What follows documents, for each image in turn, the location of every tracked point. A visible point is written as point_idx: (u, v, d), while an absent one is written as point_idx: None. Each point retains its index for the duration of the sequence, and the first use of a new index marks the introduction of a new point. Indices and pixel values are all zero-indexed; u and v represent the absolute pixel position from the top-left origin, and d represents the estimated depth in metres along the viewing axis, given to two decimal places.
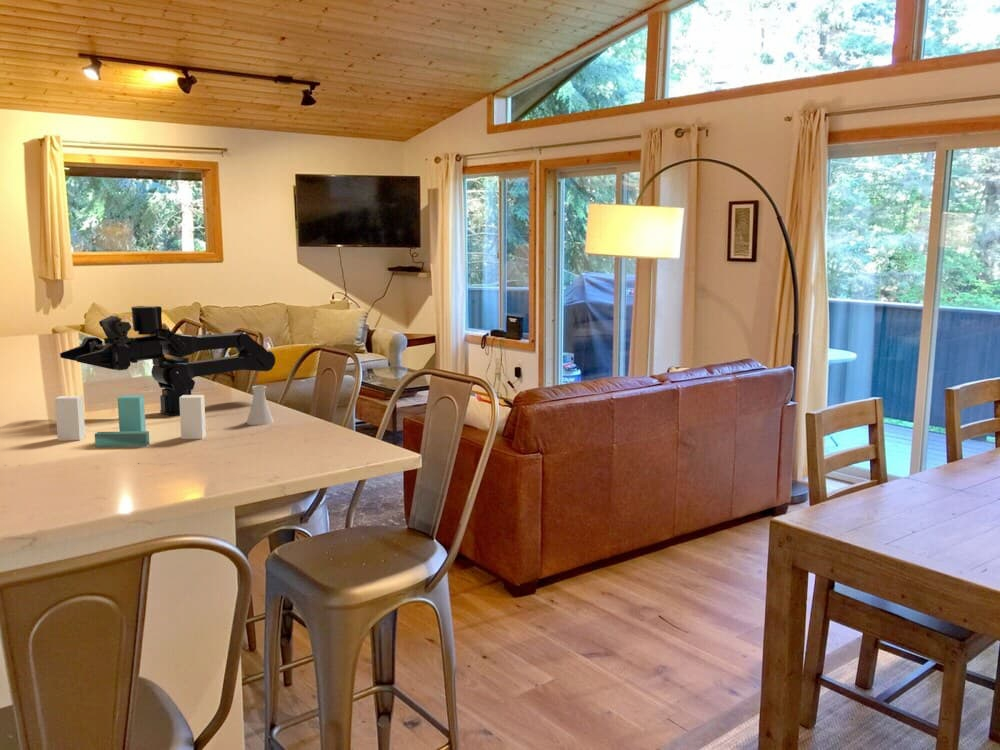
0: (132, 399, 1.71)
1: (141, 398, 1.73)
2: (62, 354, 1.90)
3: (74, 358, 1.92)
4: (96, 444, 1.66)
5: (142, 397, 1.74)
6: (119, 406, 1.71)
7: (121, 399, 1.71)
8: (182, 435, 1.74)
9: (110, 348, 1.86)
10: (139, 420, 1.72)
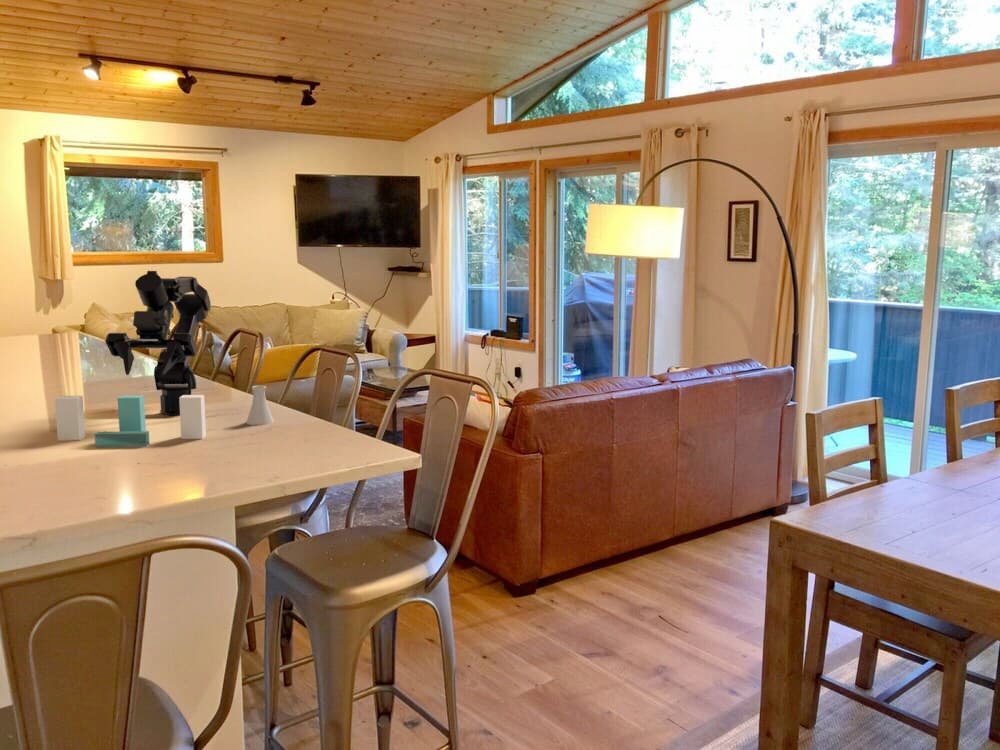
0: (132, 399, 1.71)
1: (141, 398, 1.73)
2: (127, 372, 1.82)
3: (130, 366, 1.85)
4: (96, 444, 1.66)
5: (142, 397, 1.74)
6: (119, 406, 1.71)
7: (121, 399, 1.71)
8: (182, 435, 1.74)
9: (178, 345, 1.86)
10: (139, 420, 1.72)
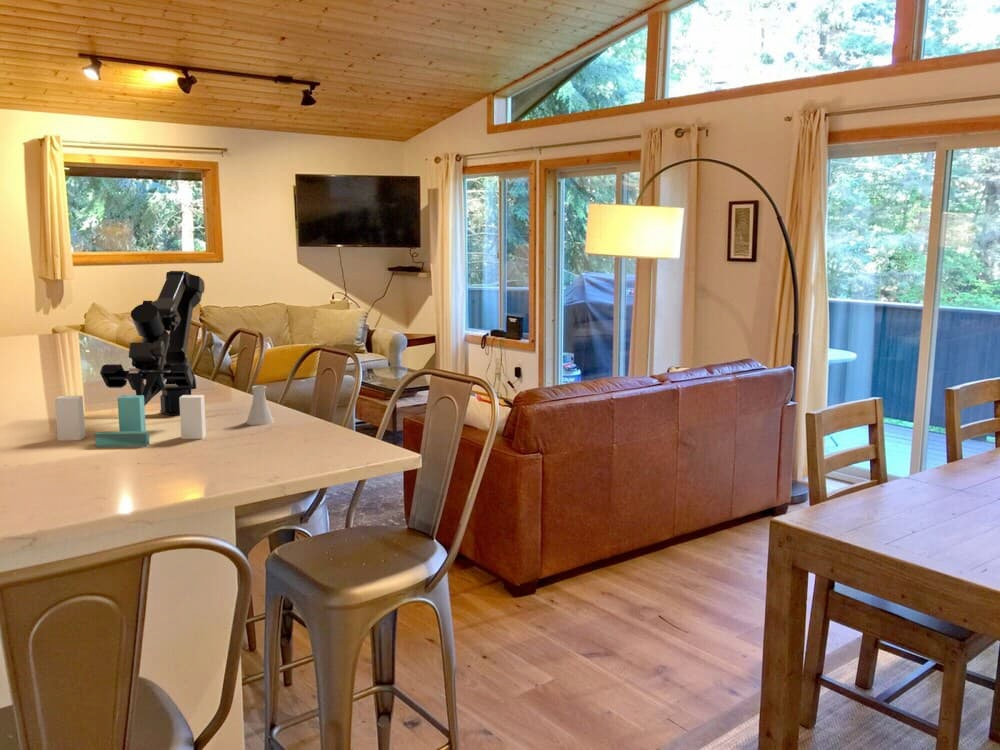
0: (132, 399, 1.71)
1: (141, 398, 1.73)
2: None
3: None
4: (96, 444, 1.66)
5: (142, 397, 1.74)
6: (119, 406, 1.71)
7: (121, 399, 1.71)
8: (182, 435, 1.74)
9: (158, 377, 1.82)
10: (139, 420, 1.72)
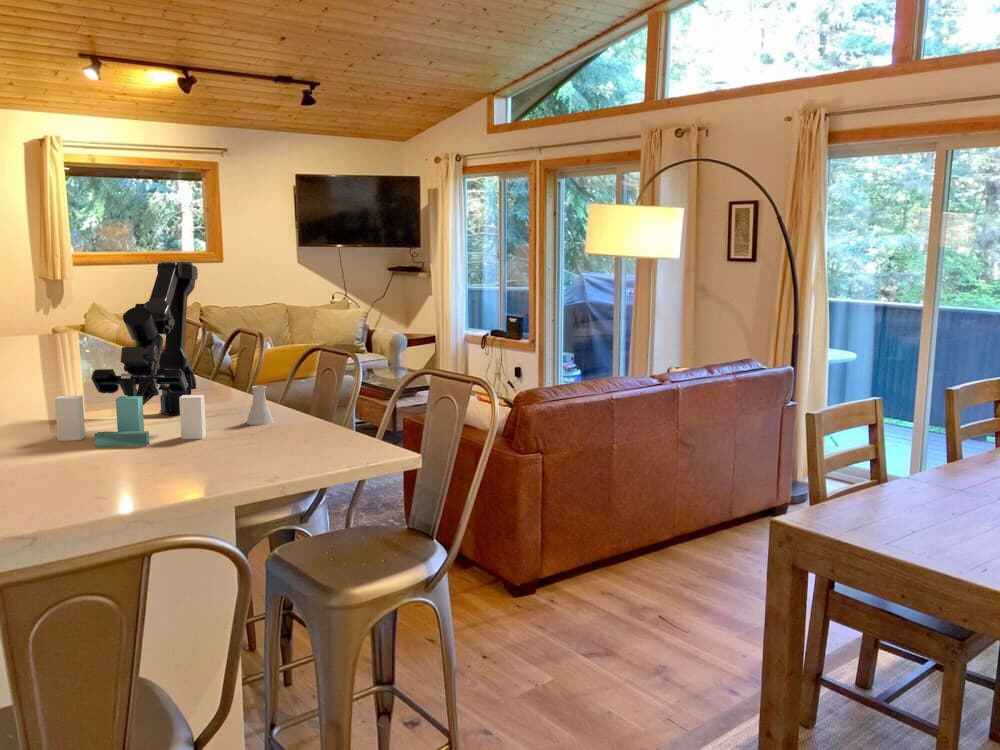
0: (130, 400, 1.70)
1: (139, 399, 1.72)
2: None
3: None
4: (96, 444, 1.66)
5: (140, 398, 1.73)
6: (117, 407, 1.70)
7: (119, 400, 1.70)
8: (182, 435, 1.74)
9: (151, 382, 1.77)
10: (137, 421, 1.71)
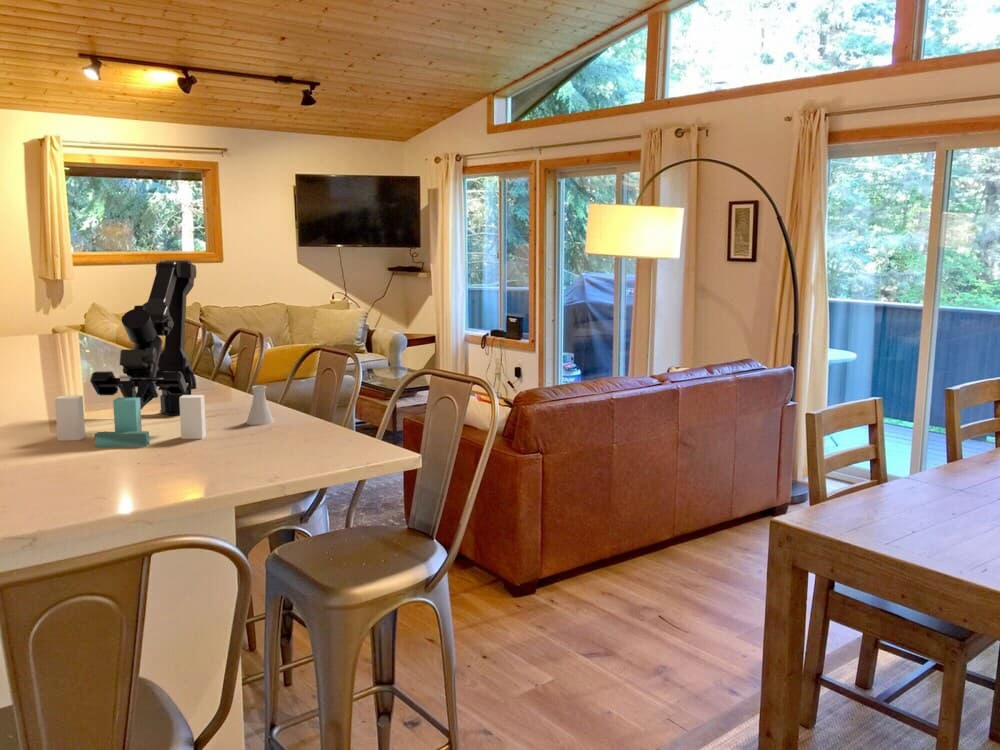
0: (128, 401, 1.69)
1: (137, 400, 1.70)
2: None
3: None
4: (96, 444, 1.66)
5: (138, 399, 1.71)
6: (115, 408, 1.69)
7: (117, 401, 1.69)
8: (182, 435, 1.74)
9: (150, 385, 1.76)
10: (135, 423, 1.70)
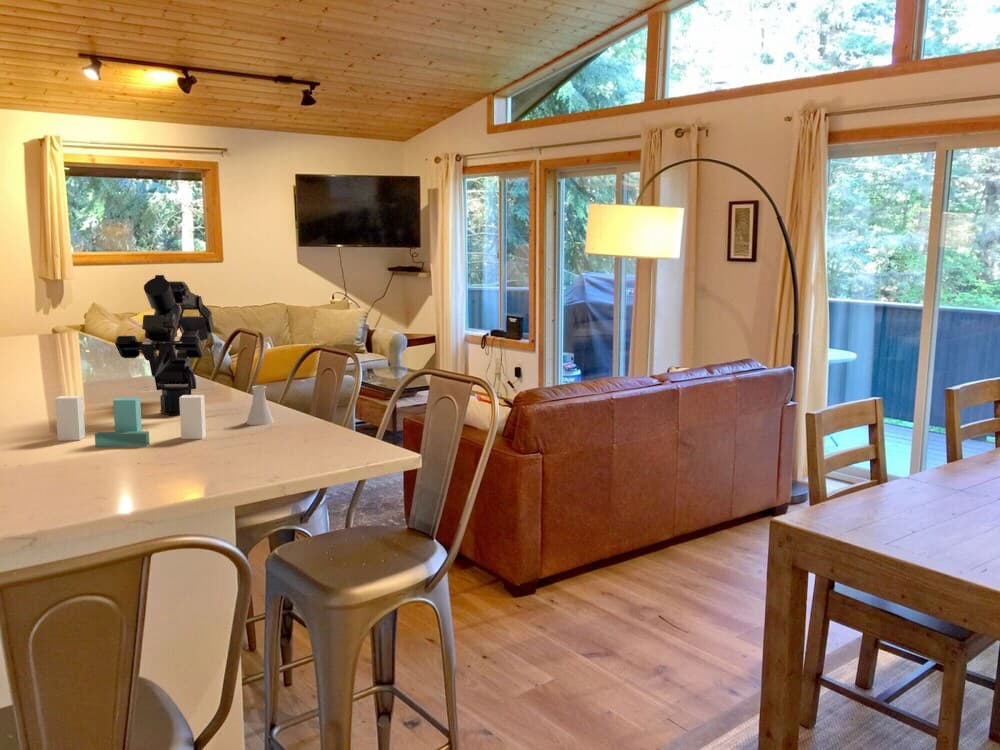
0: (128, 401, 1.69)
1: (137, 400, 1.70)
2: None
3: None
4: (96, 444, 1.66)
5: (138, 399, 1.71)
6: (115, 408, 1.69)
7: (117, 401, 1.69)
8: (182, 435, 1.74)
9: (170, 348, 1.91)
10: (135, 423, 1.70)
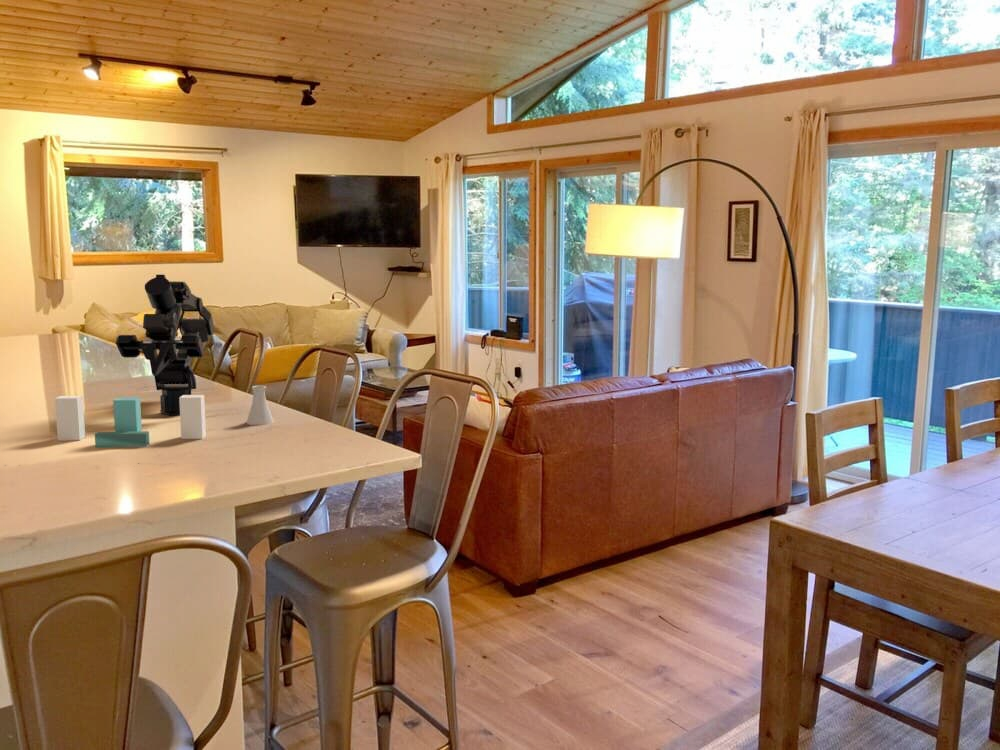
0: (128, 401, 1.69)
1: (137, 400, 1.70)
2: None
3: None
4: (96, 444, 1.66)
5: (138, 399, 1.71)
6: (115, 408, 1.69)
7: (117, 401, 1.69)
8: (182, 435, 1.74)
9: (170, 347, 1.91)
10: (135, 423, 1.70)
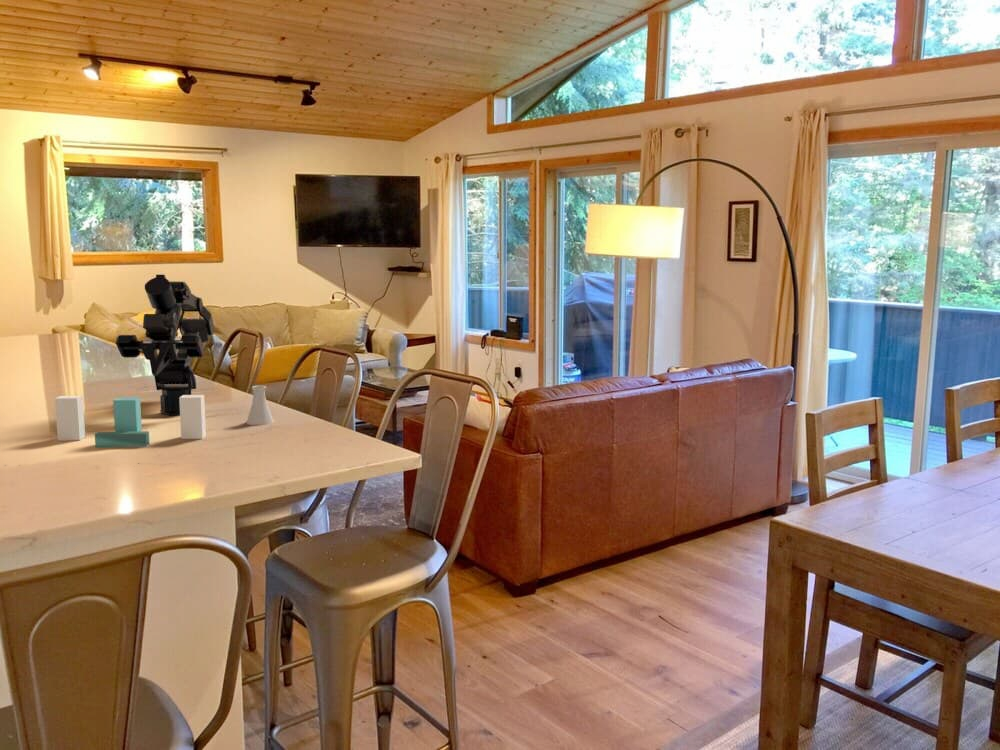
0: (128, 401, 1.69)
1: (137, 400, 1.70)
2: None
3: None
4: (96, 444, 1.66)
5: (138, 399, 1.71)
6: (115, 408, 1.69)
7: (117, 401, 1.69)
8: (182, 435, 1.74)
9: (170, 347, 1.91)
10: (135, 423, 1.70)
